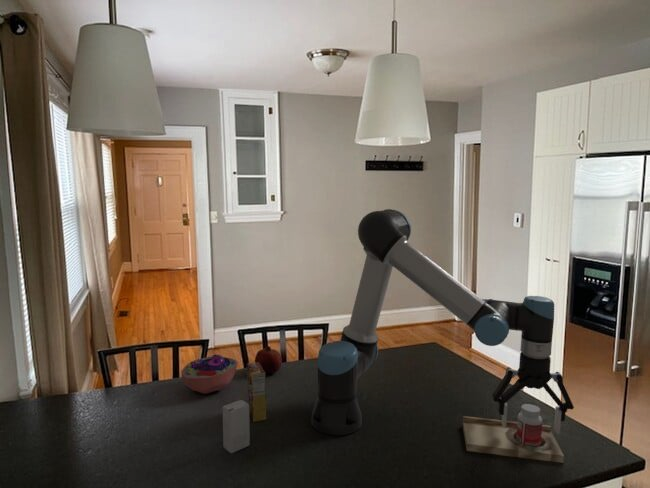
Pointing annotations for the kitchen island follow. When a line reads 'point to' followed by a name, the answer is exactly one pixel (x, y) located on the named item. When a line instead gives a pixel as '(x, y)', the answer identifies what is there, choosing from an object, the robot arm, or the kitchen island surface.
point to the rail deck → (507, 440)
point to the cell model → (209, 373)
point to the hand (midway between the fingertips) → (529, 428)
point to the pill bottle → (529, 426)
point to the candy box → (256, 391)
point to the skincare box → (236, 426)
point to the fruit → (269, 360)
